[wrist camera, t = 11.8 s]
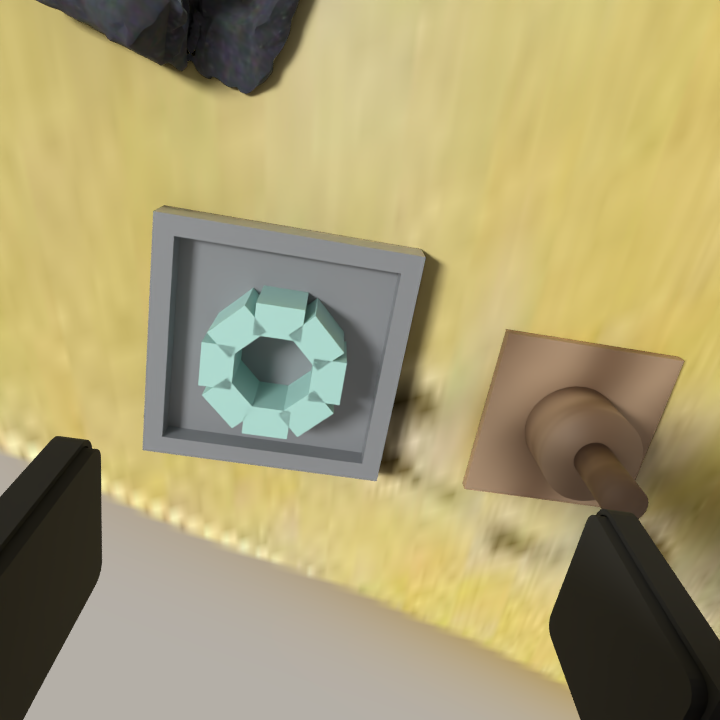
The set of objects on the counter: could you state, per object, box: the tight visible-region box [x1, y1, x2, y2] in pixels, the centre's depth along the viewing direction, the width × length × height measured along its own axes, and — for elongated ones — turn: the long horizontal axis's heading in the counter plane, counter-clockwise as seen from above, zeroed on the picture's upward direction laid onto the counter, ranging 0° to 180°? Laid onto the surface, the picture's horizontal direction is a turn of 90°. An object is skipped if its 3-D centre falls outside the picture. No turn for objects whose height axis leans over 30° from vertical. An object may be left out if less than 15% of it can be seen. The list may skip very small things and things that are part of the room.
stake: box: [463, 329, 684, 519], centre depth 31 cm, size 10×10×8 cm
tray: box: [143, 205, 426, 481], centre depth 32 cm, size 13×13×2 cm
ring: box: [198, 285, 347, 439], centre depth 31 cm, size 7×7×3 cm
